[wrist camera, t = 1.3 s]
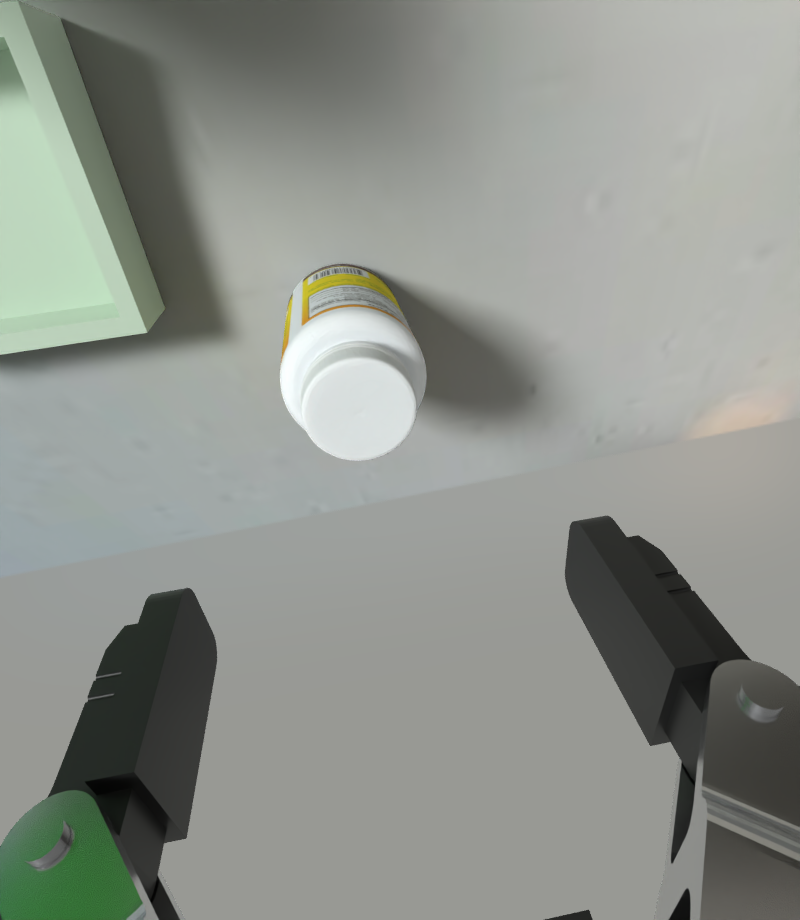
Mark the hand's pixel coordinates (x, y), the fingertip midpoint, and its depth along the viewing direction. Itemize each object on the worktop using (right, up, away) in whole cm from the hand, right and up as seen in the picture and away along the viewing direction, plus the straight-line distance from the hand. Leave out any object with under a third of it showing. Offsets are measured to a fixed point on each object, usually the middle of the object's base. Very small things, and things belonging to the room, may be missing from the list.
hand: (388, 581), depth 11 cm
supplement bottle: (-3, +10, +15) cm, 18 cm away
